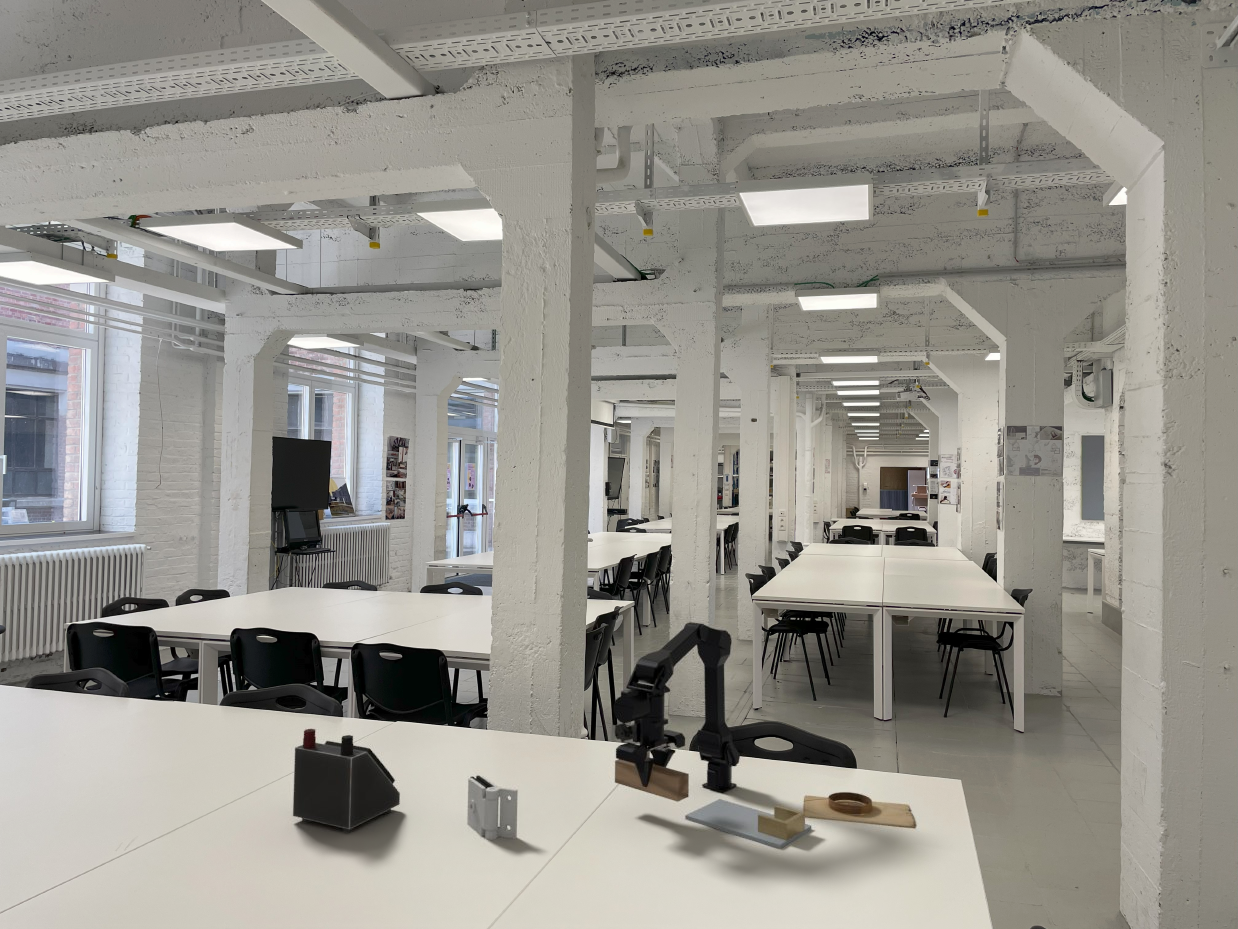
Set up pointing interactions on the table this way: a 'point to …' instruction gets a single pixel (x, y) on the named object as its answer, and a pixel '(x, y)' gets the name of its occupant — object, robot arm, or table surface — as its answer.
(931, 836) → the table surface
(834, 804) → the board
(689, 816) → the mounting board
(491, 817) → the hinge
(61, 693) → the table surface
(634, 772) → the walnut rail
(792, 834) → the cup bracket
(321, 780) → the voltmeter
